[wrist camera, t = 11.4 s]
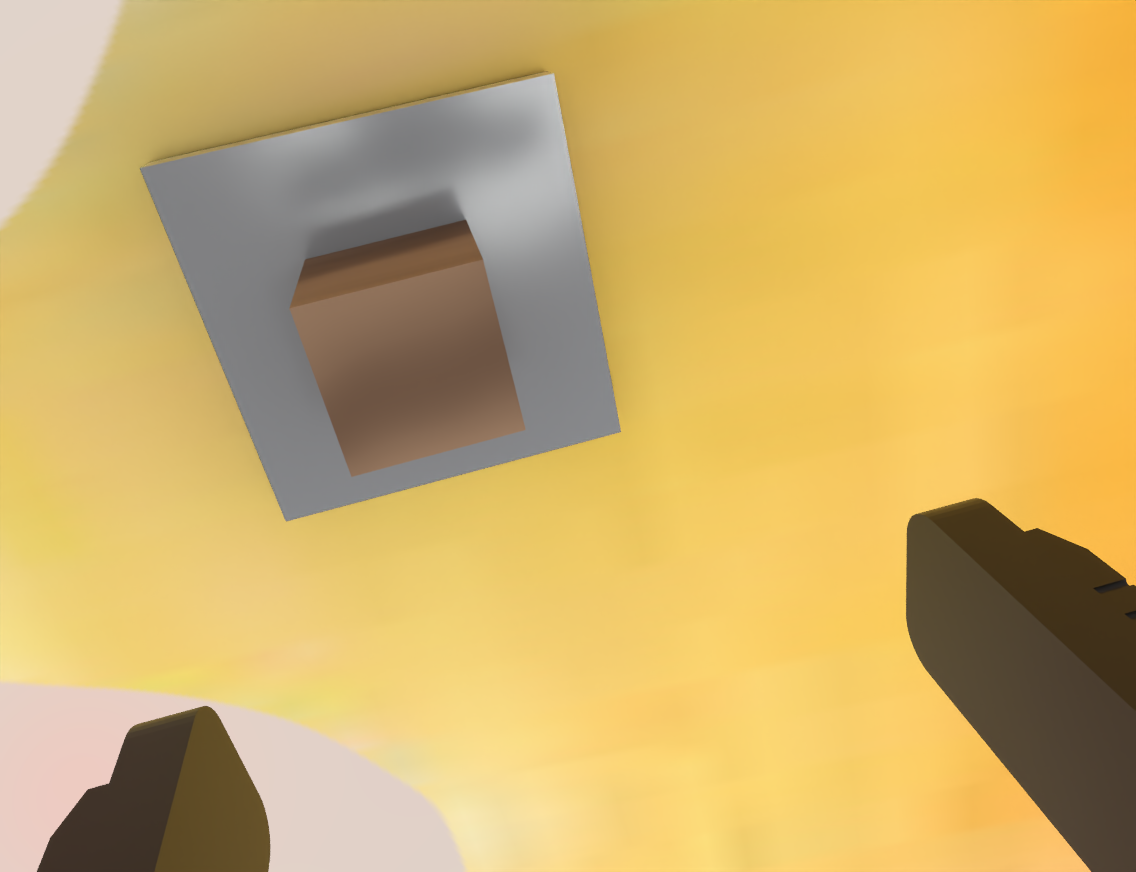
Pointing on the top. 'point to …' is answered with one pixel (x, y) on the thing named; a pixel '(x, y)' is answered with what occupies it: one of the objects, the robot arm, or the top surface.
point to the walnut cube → (406, 347)
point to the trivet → (378, 212)
